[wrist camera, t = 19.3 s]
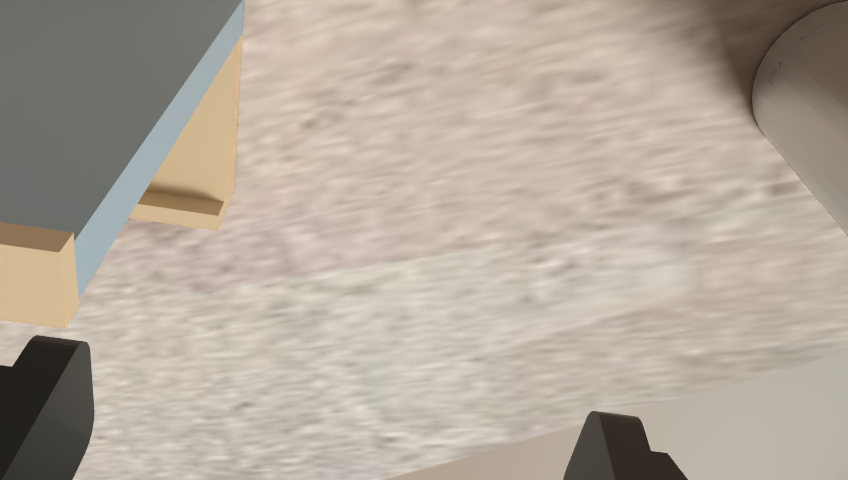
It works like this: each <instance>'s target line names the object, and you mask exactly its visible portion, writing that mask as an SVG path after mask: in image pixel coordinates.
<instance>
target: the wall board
mask: <svg viewBox="0 0 848 480" xmlns="http://www.w3.org/2000/svg"><path fill="white" fill-rule="evenodd" d="M243 13H244V0H0V320H5V321H13V322H20V323H28V324H35V325H43V326H50V327H58V328H65V329H66V328H67V326H68V324H69V323H70V321H71V319H72V318H73V316H74V315H75V313H76V311H77V310H78V308H79V297H80V296H81V294H82V292H83V291H84V289H85V288H86V286H87V284H88V283H89V281H90V279H91V278H92V276H93V275H94V273H95V271H96V270H97V268H98V267H99V265H100V263H101V262H102V260H103V258H104V257H105V255H106V254H107V252H108V250H109V249H110V247H111V246H112V244H113V242H114V241H115V239H116V237H117V236H118V234H119V233H120V231H121V229H122V228H123V226H124V224H125V223H126V221H127V220H128V218H133V219H140V220H147V221H154V222H161V223H167V224H174V225H181V226H188V227H195V228H201V229H208V230H215V231H218V229H219V227H220V224H221V222H222V220H223V217H224V215H225V212H226V210H227V208H228V205H229V203H230V201H231V198H232V196H233V194H234V186H235V167H236V147H237V128H238V109H239V90H240V71H241V52H242V32H243Z"/></svg>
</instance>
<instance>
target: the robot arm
mask: <svg viewBox="0 0 848 480" xmlns="http://www.w3.org/2000/svg"><path fill="white" fill-rule="evenodd" d="M752 106H753V113H754V117H755V119H756V122H757V124H758V126H759V129H760V130H761V131H762V132H763V134H764V135H765V136H766V137H767V139H768V140H769V141H770V142H771V144H772V145H773V146H774V147H775V148H776V150H777V151H778V152H779V153H780V154H781V156H782V157H783V158H784V159H785V161H786V162H787V163H788V165H789V166H790V167H791V168H792V170H793V171H794V172H795V173H796V174H797V175H798V177H799V178H800V179H801V180H802V181H803V183H804V184H805V185H806V186H807V187H808V189H809V190H810V191H811V192H812V193H813V195H814V196H815V197H816V198H817V199H818V201H819V202H820V203H821V204H822V205H823V207H824V208H825V209H826V210H827V211H828V213H829V214H830V215H831V216H832V217H833V219H834V220H835V221H836V222H837V223H838V225H839V226H840V227H841V228H842V229H843V231H844V232H845V233H846V234H847V235H848V1H844V2H839V3H834V4H830V5H828V6H825V7H823V8H821V9H818V10H816V11H813V12H811V13H810V14H808V15H807V16H805V17H803V18H802V19H800V20H799V21H797V22H795V23H794V24H793V25H792V26H791V27H790V28H788V29H787V30H786V31H785V32H784V33H783V34H782V35H781V36H780V37H779V38H778V39H777V40H776V41H775V43H774V44H773V45H772V46H771V48H770V49H769V50H768V51H767V53H766V55H765V57H764V59H763V60H762V62H761V64H760V66H759V68H758V71H757V74H756V77H755V80H754V83H753V92H752ZM93 422H94V400H93V386H92V371H91V356H90V348H89V345H88V343H87V342H84V341H76V340H69V339H61V338H54V337H46V336H39V335H37V336H34V337H33V338H32V339H31V340H30V341H29V342H28V344H27V345H26V347H25V348H24V350H23V351H22V353H21V354H20V356H19V357H18V359H17V360H16V362H15V363H14V365H13V366H12V367H9V366H2V365H0V480H72V479H73V477H74V475H75V473H76V471H77V469H78V467H79V465H80V463H81V460H82V458H83V456H84V454H85V452H86V450H87V447H88V444H89V441H90V437H91V433H92V429H93ZM563 480H688V479H687V478H686V477H685V476H684V474H683V473H682V472H681V470H680V469H679V468H678V466H677V465H676V464H675V463H674V461H673V460H672V459H671V457H670V456H669V455H668V454H667V453H661V452H653V451H651V450H650V447H649V444H648V440H647V437H646V434H645V431H644V427H643V425H642V422H641V421H640V419H639V418H638V417H635V416H627V415H620V414H613V413H605V412H598V411H592V412H591V413H590V414H589V415H588V417H587V419H586V421H585V424H584V426H583V429H582V431H581V434H580V436H579V439H578V441H577V444H576V446H575V449H574V451H573V454H572V456H571V459H570V461H569V464H568V466H567V469H566V472H565V475H564V479H563Z"/></svg>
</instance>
